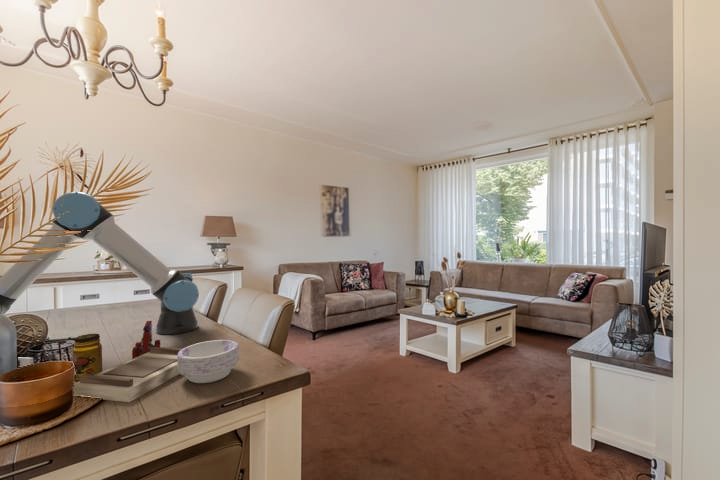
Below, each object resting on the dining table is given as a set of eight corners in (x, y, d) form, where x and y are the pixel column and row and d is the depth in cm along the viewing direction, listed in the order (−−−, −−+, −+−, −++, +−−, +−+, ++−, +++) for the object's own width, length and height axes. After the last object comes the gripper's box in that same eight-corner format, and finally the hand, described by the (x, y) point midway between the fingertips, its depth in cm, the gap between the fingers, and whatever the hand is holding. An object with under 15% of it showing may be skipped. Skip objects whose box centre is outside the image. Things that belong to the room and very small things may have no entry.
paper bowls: (169, 377, 91) (169, 348, 91) (224, 361, 102) (224, 335, 102) (190, 395, 81) (189, 362, 80) (249, 375, 92) (248, 346, 91)
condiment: (69, 388, 85) (68, 341, 85) (73, 377, 92) (72, 333, 92) (105, 381, 89) (105, 336, 89) (106, 371, 96) (105, 329, 96)
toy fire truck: (130, 364, 101) (130, 330, 101) (137, 352, 112) (136, 320, 112) (157, 360, 104) (157, 327, 104) (161, 348, 115) (160, 318, 115)
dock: (152, 360, 104) (152, 345, 104) (198, 363, 101) (198, 348, 101) (72, 396, 81) (72, 377, 80) (129, 402, 77) (128, 382, 77)
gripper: (49, 348, 109) (103, 352, 105) (-61, 381, 84) (4, 388, 80) (48, 325, 109) (103, 328, 104) (-62, 351, 84) (3, 356, 80)
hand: (60, 354), depth 92 cm, fingers open, 13 cm apart
